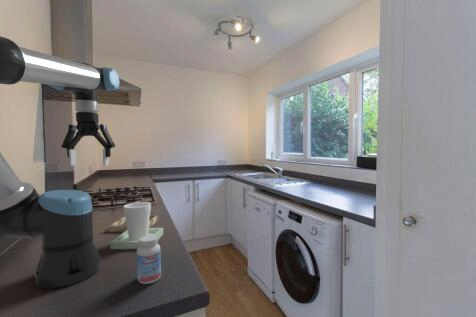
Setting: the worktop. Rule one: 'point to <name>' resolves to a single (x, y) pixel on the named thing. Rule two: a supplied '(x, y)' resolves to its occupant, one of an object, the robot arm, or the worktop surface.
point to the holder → (117, 228)
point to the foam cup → (137, 219)
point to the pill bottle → (148, 259)
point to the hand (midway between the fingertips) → (89, 165)
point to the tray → (125, 243)
